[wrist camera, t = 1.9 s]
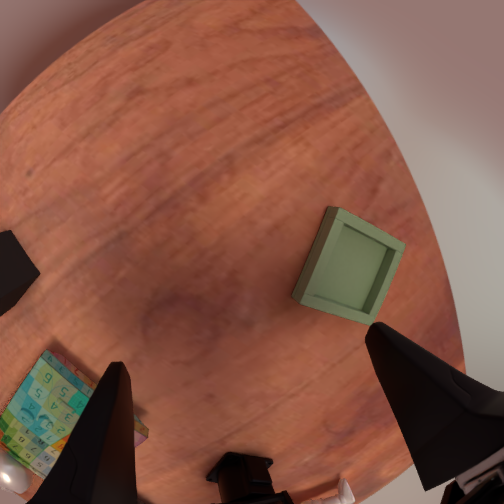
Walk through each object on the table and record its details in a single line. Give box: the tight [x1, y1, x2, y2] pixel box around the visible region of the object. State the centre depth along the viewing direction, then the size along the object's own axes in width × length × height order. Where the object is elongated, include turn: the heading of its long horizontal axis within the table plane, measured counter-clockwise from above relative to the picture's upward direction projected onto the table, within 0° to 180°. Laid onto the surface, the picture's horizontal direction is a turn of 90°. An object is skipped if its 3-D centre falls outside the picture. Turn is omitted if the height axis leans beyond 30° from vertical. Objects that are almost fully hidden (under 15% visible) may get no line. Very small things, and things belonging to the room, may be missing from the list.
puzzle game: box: [0, 349, 149, 479], centre depth 20 cm, size 12×5×20 cm
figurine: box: [0, 447, 34, 494], centre depth 18 cm, size 11×7×15 cm
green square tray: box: [291, 206, 406, 326], centre depth 25 cm, size 8×8×2 cm
